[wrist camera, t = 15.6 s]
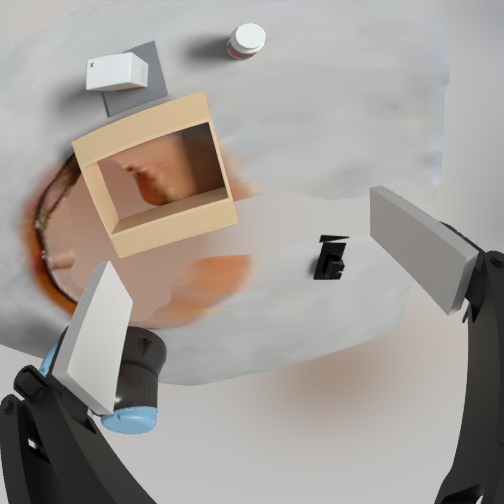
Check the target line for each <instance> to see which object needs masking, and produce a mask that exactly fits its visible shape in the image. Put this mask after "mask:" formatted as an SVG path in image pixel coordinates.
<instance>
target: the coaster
mask: <svg viewBox="0 0 504 504" xmlns="http://www.w3.org/2000/svg"><path fill="white" fill-rule="evenodd" d="M127 52H132V53H133V54H135V55H136V56H138V57H139V58H140V59H142V60H143V61H145V62H146V63H147V64H148V80H147V88H136V89H127V90H121V91H115V92H110V91H103V93H104V97H105V100H106V104H107V108H108V111H109V115H110V116H113V115H115V114H117V113H120V112H122V111H125V110H127V109H130V108H132V107H135V106H137V105H140V104H143V103H145V102H148V101H151V100H154V99H157V98H160V97H163V96H166V95H168V92H167V88H166V85H165V81H164V77H163V73H162V69H161V65H160V61H159V57H158V53H157V49H156V45H155V41H152V42H149V43H146V44H143V45H140V46H138V47H135V48H133V49H130V50H127V51H125V52H122V53H127ZM120 54H121V53H120Z"/></svg>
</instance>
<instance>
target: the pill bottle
mask: <svg viewBox="0 0 504 504" xmlns="http://www.w3.org/2000/svg"><path fill="white" fill-rule="evenodd" d="M264 40H265V32H264V30H263V29H262V28H261V27H260V26H258V25H256V24H252V23H247V24H243V25H241V26H240V27H238V28H236V29H235V30H234V31H233V32H232V34H231V36H230V38H229V41H228V43H227V51H228V53H229V54H230V55H231V56H232V57H233V58H235V59H238V60H246V59H249V58H251V57H252V56H253V55H255V54H256V53H257V52H258V51H259V50H260V49H261V48H262V46H263V44H264Z"/></svg>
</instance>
